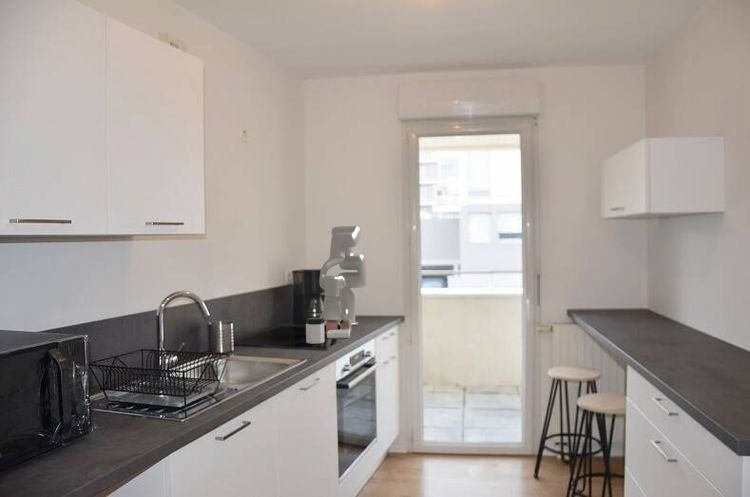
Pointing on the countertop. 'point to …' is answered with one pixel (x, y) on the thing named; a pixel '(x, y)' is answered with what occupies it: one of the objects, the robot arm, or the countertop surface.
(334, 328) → the red block small bore
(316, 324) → the jar
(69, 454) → the countertop surface
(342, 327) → the beech block wide bore
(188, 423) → the countertop surface
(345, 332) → the tray
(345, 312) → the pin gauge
